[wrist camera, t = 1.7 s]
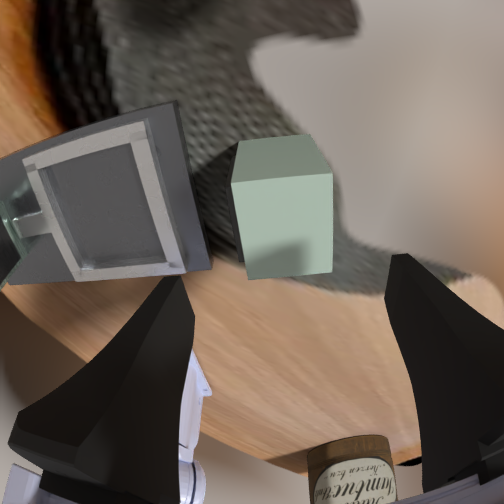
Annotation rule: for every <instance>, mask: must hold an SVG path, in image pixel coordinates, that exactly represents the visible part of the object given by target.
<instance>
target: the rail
mask: <svg viewBox="0 0 504 504" xmlns="http://www.w3.org/2000/svg"><path fill="white" fill-rule="evenodd" d="M212 265H213V257H212V253H211V249H210V245H209V241H208V237H207V233H206V229H205V225H204V220H203V216H202V212H201V208H200V204H199V199H198V195H197V191H196V186H195V182H194V178H193V173H192V169H191V164H190V160H189V155H188V151H187V146H186V142H185V137H184V132H183V127H182V123H181V118H180V113H179V108H178V103H177V100H175V101H170V102H166V103H161V104H157V105H153V106H149V107H145V108H141V109H137V110H133V111H129V112H126V113H122V114H118V115H115V116H111V117H108V118H105V119H101V120H98V121H95V122H92V123H89V124H86V125H83V126H80V127H77V128H74V129H71V130H68V131H65V132H63V133H60V134H57V135H55V136H52V137H49V138H47V139H44V140H42V141H39V142H37V143H34V144H32V145H29V146H27V147H25V148H22V149H20V150H18V151H15V152H13V153H11V154H9V155H7V156H4V157H2V158H0V291H1V289H2V288H3V287H4V285H5V284H6V282H7V281H8V283H9V285H22V284H36V283H51V282H65V281H76V282H82V281H96V280H109V279H122V278H135V277H147V276H160V275H172V274H183V273H187V272H189V271H200V270H212Z"/></svg>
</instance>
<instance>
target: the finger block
mask: <svg viewBox="0 0 504 504" xmlns="http://www.w3.org/2000/svg"><path fill="white" fill-rule="evenodd" d="M225 191H226V196H227V202H228V207H229V212H230V217H231V223H232V228H233V233H234V238H235V243H236V249H237V254H238V259H239V262H245V265H246V270H247V276H248V280H256V279H267V278H278V277H288V276H298V275H308V274H318V273H328V272H332V256H333V175H332V172H331V170H330V168H329V166H328V164H327V163H326V161H325V159H324V157H323V156H322V154H321V152H320V150H319V149H318V147H317V145H316V144H315V142H314V140H313V138H312V137H311V135H310V134H306V135H294V136H283V137H272V138H263V139H254V140H246V141H239V144H238V149H237V154H236V157H232V158H231V162H230V167H229V171H228V176H227V180H226V184H225Z"/></svg>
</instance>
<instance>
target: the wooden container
mask: <svg viewBox="0 0 504 504" xmlns="http://www.w3.org/2000/svg"><path fill="white" fill-rule="evenodd" d="M307 462H308V480H309V494H310V504H387V503H391V502H395V501H398V498H397V489H396V480H395V473H394V467H393V461H392V457H391V451H390V446H389V442H388V439H387V438H386V437H384V436H380V435H365V436H356V437H350V438H345V439H341V440H337V441H333V442H330V443H327V444H324V445H322V446H319V447H317V448H315V449H313V450H312V451H310V452H309V453H308V455H307Z"/></svg>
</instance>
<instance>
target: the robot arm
mask: <svg viewBox="0 0 504 504" xmlns="http://www.w3.org/2000/svg"><path fill="white" fill-rule="evenodd" d="M384 300H385V304H386V308H387V313H388V316H389V320H390V324H391V327H392V329H393V332H394V335H395V337H396V340H397V343H398V346H399V348H400V351H401V354H402V356H403V359H404V362H405V365H406V368H407V371H408V373H409V377H410V380H411V384H412V388H413V393H414V398H415V403H416V408H417V415H418V422H419V429H420V439H421V450H422V487H423V492H424V493H423V494H420V495H417V496H414V497H410V498H406V499H403V500H399V501H395V502H391V503H387V504H504V330H503V329H502V328H500V327H499V326H497V325H496V324H494V323H493V322H491V321H490V320H488V319H487V318H486V317H484V316H483V315H481V314H480V313H479V312H477V311H476V310H475V309H473V308H472V307H471V306H469V305H468V304H467V303H466V302H465V301H463V300H462V299H461V298H459V297H458V296H457V295H456V294H455V293H454V292H452V291H451V290H450V289H449V288H448V287H446V286H445V285H444V284H443V283H442V282H441V281H440V280H438V279H437V278H436V277H435V276H434V275H433V274H432V273H430V272H429V271H428V270H427V269H426V268H425V267H424V266H422V265H421V264H420V263H419V262H418V261H417V260H415V259H414V258H413V257H412V256H410V255H409V254H408V253H406V254H397V255H392V257H391V263H390V269H389V275H388V281H387V286H386V292H385V297H384ZM194 326H195V315H194V312H193V309H192V307H191V304H190V301H189V298H188V295H187V293H186V290H185V287H184V284H183V281H182V278H181V275H180V276H168V277H164V278H163V279H162V280H161V281H160V282H159V283H158V285H157V286H156V287H155V288H154V290H153V291H152V292H151V293H150V295H149V296H148V297H147V299H146V300H145V301H144V302H143V303H142V305H141V306H140V307H139V308H138V310H137V311H136V312H135V313H134V315H133V316H132V317H131V318H130V319H129V321H128V322H127V323H126V324H125V325H124V326H123V327H122V329H121V330H120V331H119V332H118V333H117V334H116V335H115V337H114V338H113V339H112V340H111V341H110V342H109V343H108V344H107V345H106V346H105V347H104V348H103V349H102V350H101V351H100V352H99V353H98V354H97V355H96V356H95V357H94V358H93V359H92V360H91V361H90V362H89V363H88V364H86V365H85V366H84V367H83V368H82V369H80V370H79V371H78V372H77V373H76V374H75V375H73V376H72V377H71V378H70V379H69V380H67V381H66V382H65V383H63V384H62V385H61V386H59V387H58V388H56V389H55V390H54V391H52V392H51V393H49V394H48V395H46V396H45V397H43V398H42V399H40V400H38V401H37V402H35V403H33V404H32V405H30V406H28V407H26V408H25V409H23V410H21V411H19V412H18V415H17V418H16V421H15V423H14V426H13V430H12V432H11V435H10V438H9V441H8V445H9V447H10V448H11V449H12V450H13V451H15V452H16V453H17V454H19V455H20V456H22V457H23V458H25V459H27V460H28V461H30V462H32V463H33V464H35V465H36V466H38V467H40V468H42V469H43V473H42V476H41V475H39V474H37V473H35V472H32V471H30V470H28V469H25V468H23V467H21V466H19V465H17V464H12V467H11V470H10V474H9V477H8V481H7V485H6V489H5V493H4V497H3V502H2V504H203V501H204V497H205V490H206V480H205V473H204V471H203V469H202V467H201V465H200V463H199V462H198V461H197V460H194V459H193V452H194V451H193V450H194V448H195V446H196V445H197V442H198V438H199V429H200V420H201V411H202V403H203V396H211V395H212V390H211V388H210V386H209V384H208V382H207V380H206V378H205V376H204V373H203V371H202V369H201V367H200V365H199V363H198V360H197V358H196V356H195V354H194V352H193V349H192V346H193V339H194Z"/></svg>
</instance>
